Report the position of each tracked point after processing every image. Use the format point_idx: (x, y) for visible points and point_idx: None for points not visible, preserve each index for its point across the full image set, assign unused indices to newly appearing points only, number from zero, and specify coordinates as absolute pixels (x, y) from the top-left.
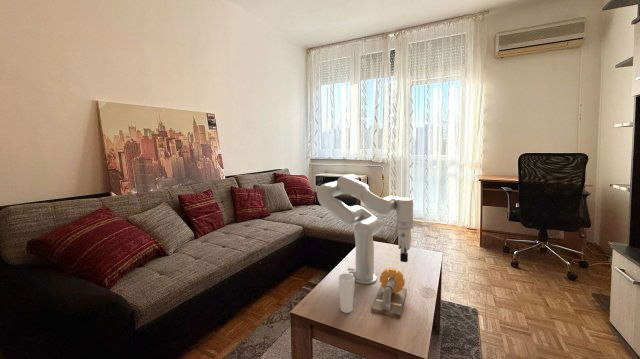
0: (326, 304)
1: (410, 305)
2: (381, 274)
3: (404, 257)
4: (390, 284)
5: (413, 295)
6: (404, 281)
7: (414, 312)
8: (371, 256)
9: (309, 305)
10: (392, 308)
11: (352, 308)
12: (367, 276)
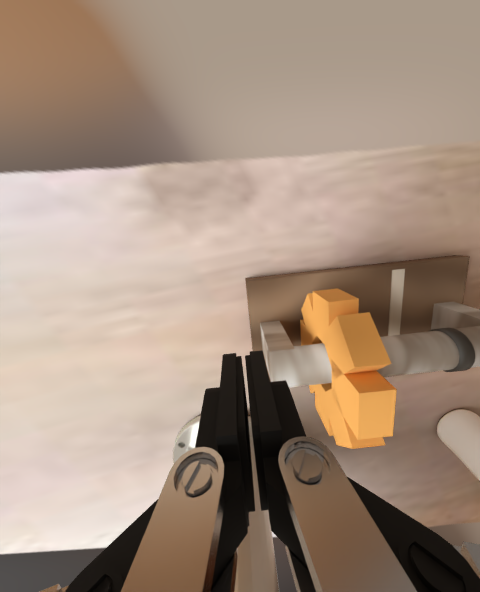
0: (441, 479)
1: (349, 238)
2: (331, 432)
3: (297, 419)
4: (435, 357)
5: (262, 243)
6: (331, 296)
7: (396, 211)
8: (242, 590)
9: (460, 510)
10: (432, 295)
11: (468, 414)
12: (254, 456)
